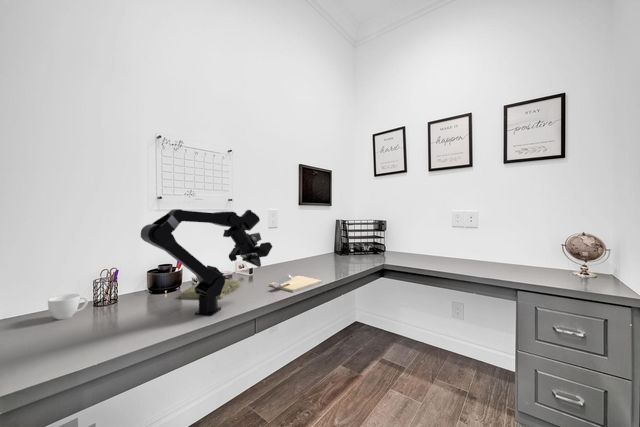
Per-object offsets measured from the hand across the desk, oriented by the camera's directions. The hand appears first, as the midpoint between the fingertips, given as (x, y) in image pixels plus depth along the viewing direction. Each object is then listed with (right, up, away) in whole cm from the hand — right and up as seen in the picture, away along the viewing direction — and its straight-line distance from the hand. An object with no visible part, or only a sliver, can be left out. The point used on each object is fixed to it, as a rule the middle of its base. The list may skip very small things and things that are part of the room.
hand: (259, 266), depth 113 cm
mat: (+14, -12, +17) cm, 25 cm away
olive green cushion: (-22, -13, +6) cm, 26 cm away
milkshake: (+5, -10, +7) cm, 14 cm away
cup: (-61, -13, -21) cm, 66 cm away
